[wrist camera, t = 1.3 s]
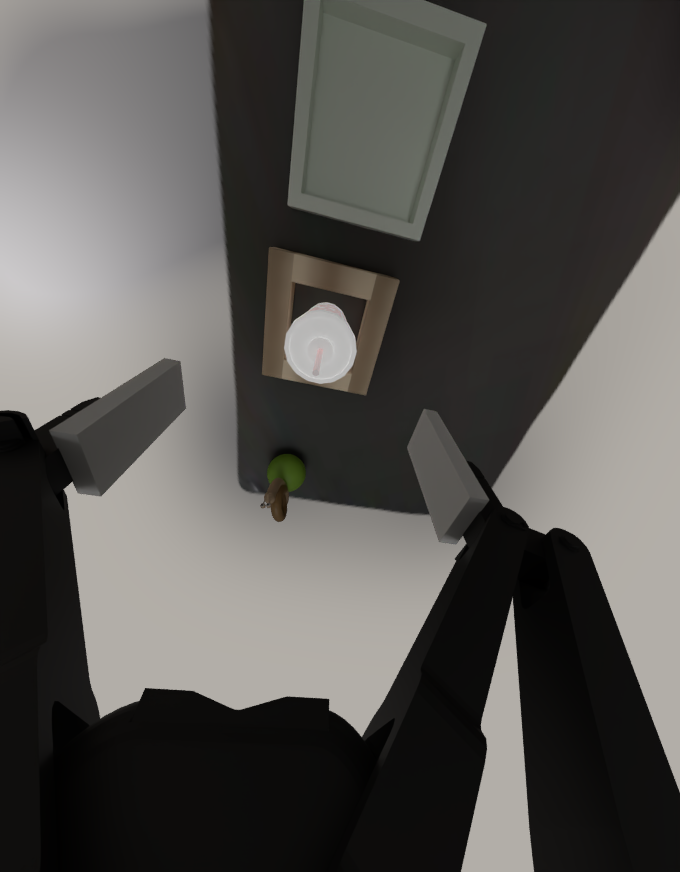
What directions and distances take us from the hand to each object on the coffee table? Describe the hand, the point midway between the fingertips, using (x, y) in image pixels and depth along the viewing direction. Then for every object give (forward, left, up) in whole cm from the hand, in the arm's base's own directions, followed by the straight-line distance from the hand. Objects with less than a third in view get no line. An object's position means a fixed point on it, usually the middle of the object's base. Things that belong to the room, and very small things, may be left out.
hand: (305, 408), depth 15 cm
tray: (-1, -15, -19) cm, 24 cm away
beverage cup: (0, 0, -19) cm, 19 cm away
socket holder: (0, 0, -19) cm, 19 cm away
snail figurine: (+2, +20, -19) cm, 27 cm away
